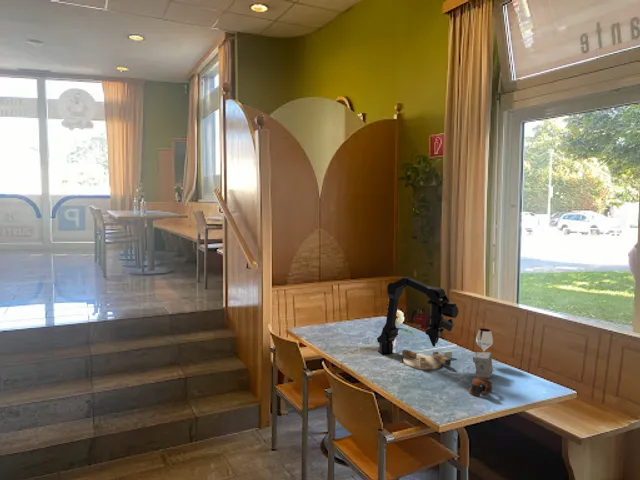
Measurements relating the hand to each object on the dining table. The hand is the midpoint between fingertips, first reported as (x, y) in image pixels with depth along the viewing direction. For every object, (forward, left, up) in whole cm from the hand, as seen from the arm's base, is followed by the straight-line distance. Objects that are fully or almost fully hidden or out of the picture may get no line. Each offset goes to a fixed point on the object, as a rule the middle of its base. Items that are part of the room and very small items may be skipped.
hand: (435, 344), depth 235 cm
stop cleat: (+15, +11, -12) cm, 22 cm away
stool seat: (-2, +8, -12) cm, 15 cm away
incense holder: (+17, -15, -12) cm, 26 cm away
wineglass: (+27, -3, -12) cm, 30 cm away
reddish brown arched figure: (+3, -32, -12) cm, 35 cm away
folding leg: (+7, +4, -10) cm, 13 cm away
